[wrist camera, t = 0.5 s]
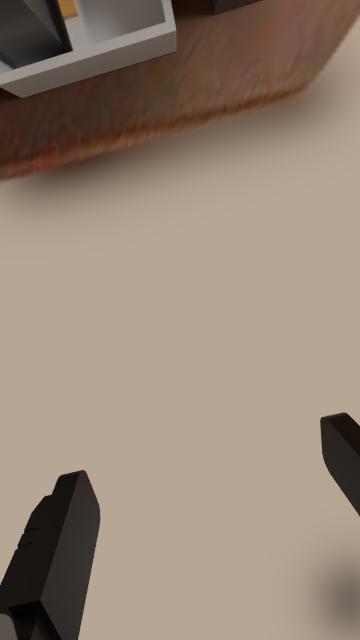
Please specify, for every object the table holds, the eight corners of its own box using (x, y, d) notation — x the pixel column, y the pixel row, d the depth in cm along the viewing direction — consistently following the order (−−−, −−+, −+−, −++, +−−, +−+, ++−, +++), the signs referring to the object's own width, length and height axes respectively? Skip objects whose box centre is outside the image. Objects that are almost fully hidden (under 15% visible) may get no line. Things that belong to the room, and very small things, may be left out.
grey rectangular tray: (21, 97, 26) (-7, 83, 22) (-20, -9, 23) (-62, -49, 19) (176, 51, 25) (176, 26, 21) (153, -69, 22) (148, -125, 18)
